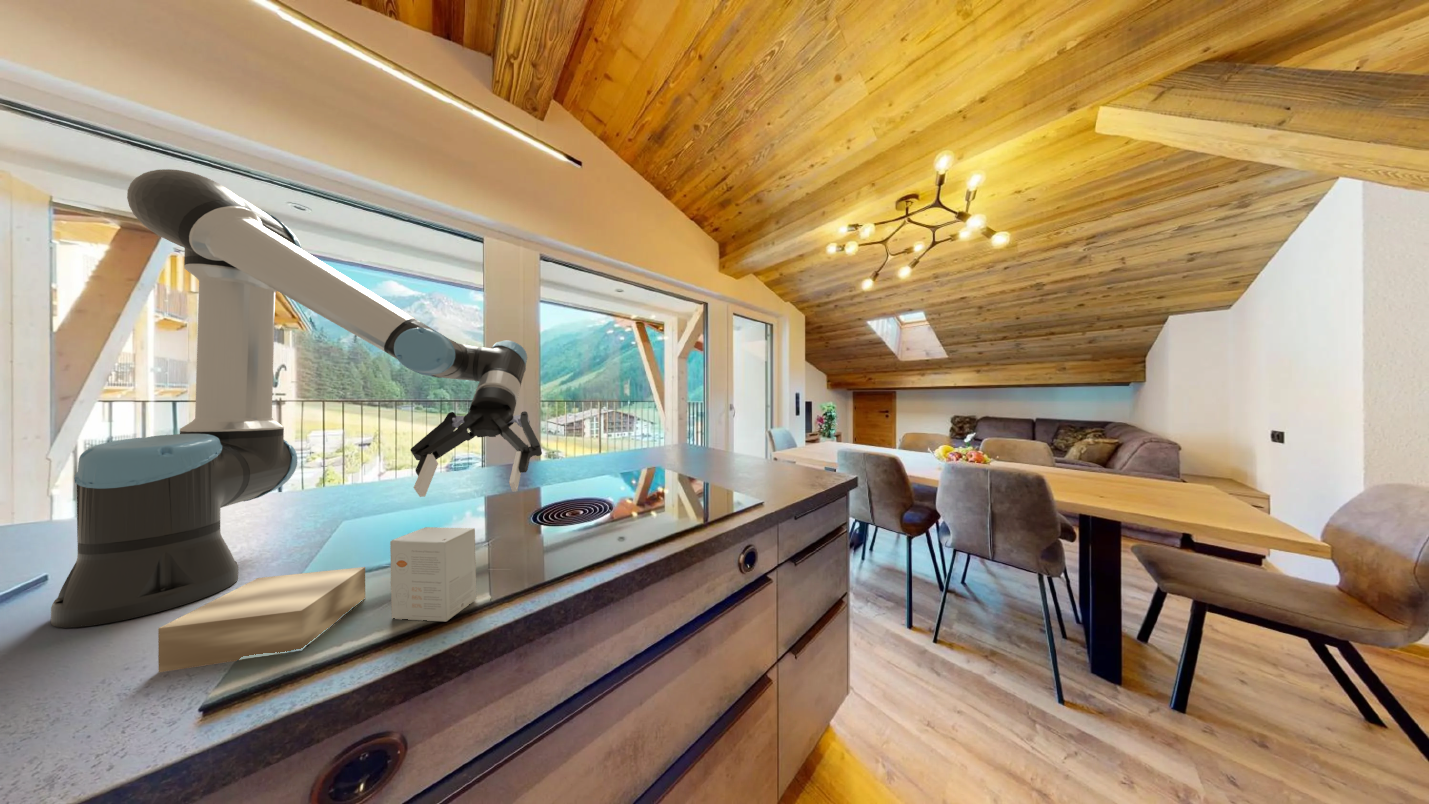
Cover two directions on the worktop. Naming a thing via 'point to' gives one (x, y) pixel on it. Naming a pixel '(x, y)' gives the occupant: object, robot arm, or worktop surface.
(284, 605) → the maple block
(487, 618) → the worktop surface
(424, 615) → the small box
